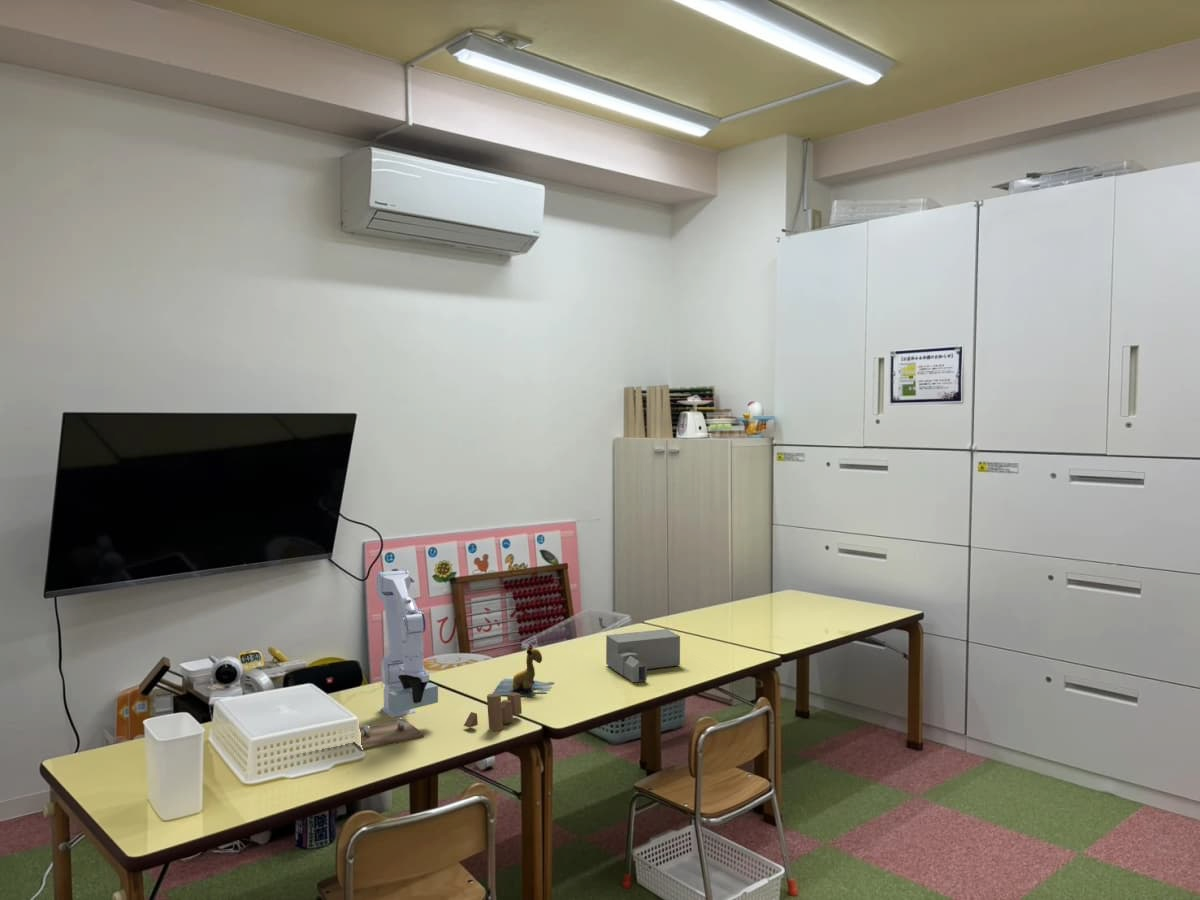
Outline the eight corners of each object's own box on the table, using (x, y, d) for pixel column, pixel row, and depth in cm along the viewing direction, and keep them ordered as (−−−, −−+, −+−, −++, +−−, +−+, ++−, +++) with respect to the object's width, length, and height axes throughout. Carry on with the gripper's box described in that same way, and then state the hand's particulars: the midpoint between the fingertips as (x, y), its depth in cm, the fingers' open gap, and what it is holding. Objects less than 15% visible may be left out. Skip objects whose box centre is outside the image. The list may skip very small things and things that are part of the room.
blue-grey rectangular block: (430, 699, 262) (430, 682, 262) (438, 702, 259) (437, 685, 259) (388, 709, 252) (388, 692, 252) (395, 713, 250) (395, 696, 249)
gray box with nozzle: (632, 682, 302) (632, 651, 302) (606, 664, 324) (606, 635, 323) (695, 674, 312) (696, 644, 311) (666, 657, 333) (666, 629, 333)
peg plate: (345, 734, 252) (345, 720, 252) (404, 722, 262) (404, 708, 262) (362, 751, 240) (361, 736, 240) (423, 738, 250) (423, 724, 250)
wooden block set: (512, 716, 269) (510, 682, 269) (530, 721, 262) (528, 687, 262) (463, 731, 256) (461, 696, 256) (480, 737, 250) (478, 701, 250)
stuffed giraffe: (544, 699, 284) (544, 651, 284) (491, 696, 287) (491, 649, 286) (554, 684, 300) (554, 638, 299) (503, 681, 303) (503, 636, 302)
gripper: (388, 652, 258) (389, 697, 258) (413, 662, 247) (414, 709, 248) (410, 647, 262) (410, 692, 263) (435, 658, 252) (435, 704, 252)
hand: (413, 700), depth 256 cm, fingers closed on blue-grey rectangular block, 4 cm apart
